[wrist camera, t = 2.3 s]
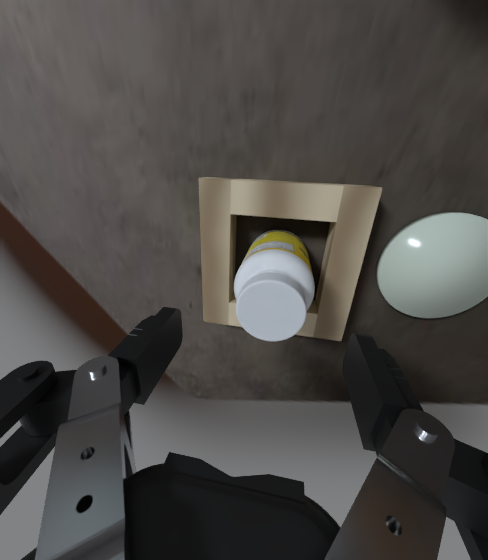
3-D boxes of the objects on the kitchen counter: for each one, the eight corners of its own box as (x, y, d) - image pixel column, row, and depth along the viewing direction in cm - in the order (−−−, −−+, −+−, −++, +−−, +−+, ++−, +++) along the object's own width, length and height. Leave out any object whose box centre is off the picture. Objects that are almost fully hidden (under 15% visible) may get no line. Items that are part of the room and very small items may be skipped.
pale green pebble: (525, 216, 17) (536, 218, 17) (471, 319, 21) (477, 324, 20) (393, 207, 19) (397, 209, 18) (364, 306, 22) (366, 311, 22)
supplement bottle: (305, 285, 23) (314, 357, 14) (249, 282, 24) (224, 347, 15) (311, 228, 20) (325, 271, 12) (248, 227, 21) (218, 266, 13)
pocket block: (371, 185, 18) (382, 187, 16) (336, 325, 24) (341, 341, 22) (208, 177, 20) (198, 177, 18) (211, 308, 26) (203, 321, 23)
